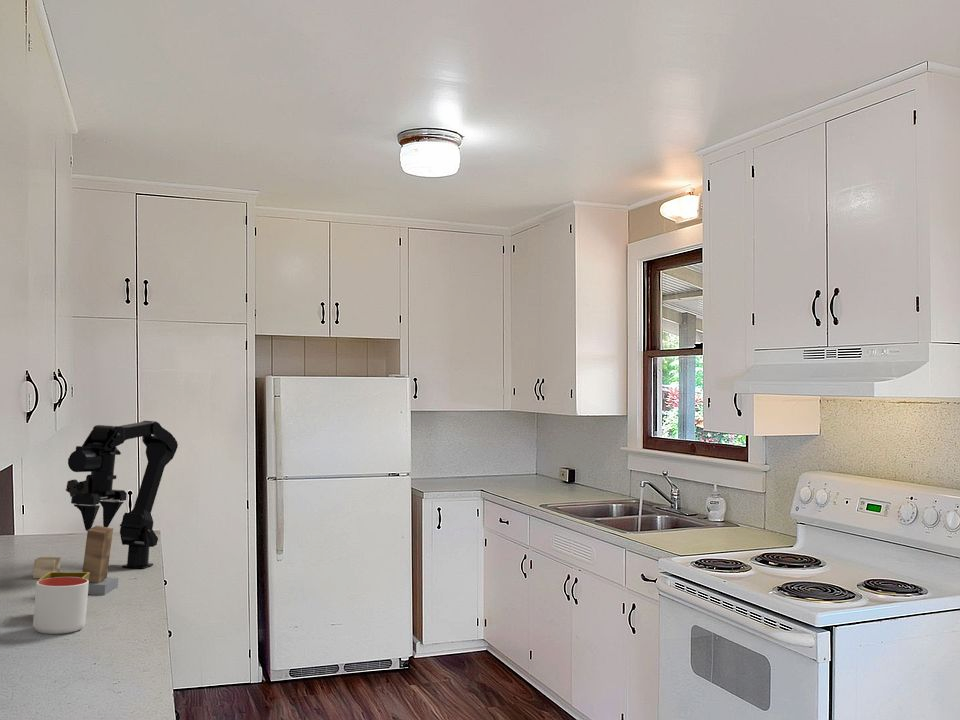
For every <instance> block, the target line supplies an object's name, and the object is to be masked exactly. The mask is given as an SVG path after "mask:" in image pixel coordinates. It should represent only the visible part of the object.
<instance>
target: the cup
mask: <svg viewBox="0 0 960 720" xmlns="http://www.w3.org/2000/svg"><path fill="white" fill-rule="evenodd" d="M88 585H89V581H88V580H87V579H84V578H78V577H55V578H47V579H43V580H40V581H38V580H37V581H36V584H35V595H34V597H35V598H34V607H33V619H32V621H33V622H32V626H33V629H34V630H35V631H36V632H38V633H41V634H48V635H64V634H70V633H74V632H76V631H79V630H81V629H83V628H84V626H85V625H86V620H87V608H88V599H89V598H88V597H89V595H88Z"/></svg>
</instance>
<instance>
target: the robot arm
mask: <svg viewBox="0 0 960 720" xmlns="http://www.w3.org/2000/svg"><path fill="white" fill-rule="evenodd" d="M136 438H142V439H141V440H142V443H143V444H144V445H145V455H146V459H147V463H146V467H145V471H144V475H143V477H142V480H141V483H140V487H139V490H138V493H137V496H136V500H135V503H134V507H133V508H132V510H130V512H124V513H123V516H122V520H121V523H120V524H119V534H120V541H121V545H123V546H128V547H127V548H128V549H127V560H126V562H127V563H125V564H122V566H121V567H122V568H129V569H139V568H143V569H145V567H146V568H149V567H152V566H154V563H151V562H149V560H150V548H153V547H155V546H157V545H158V541H159V537H158V536H157V534H156V533H155V531H154V529H153V527H154V519H153V516H152V509H153V506H154V504H155V501H156V497H157V494H158V490H159V488H160V483H161V480H162V477H163V474H164V471H165V468H166V466H167V465H168V464H169V463H170V462H171V461H172V460H173V458H174V457H175V455H176V452H177V450H178V448H179V447H178V446H179V444H178V441H177V439H176V437H174V435H173V434H172V433H171V432H170V431H168V430H167V429H165V428H164V427H162V425H161V424H160V422H157V421H154V420H142V421H139V422H134V423H128V424H123V425H105V424H104V425H101V424H97V425H94V426H93V428H92V430H90V433H89V434H88V435H87V437H86V439H85V440H84V442H83V444H82V445H77V446H75V450H74V451H73V452H71V454H70V455H69V457H68V459H67V464H68V468H69V469H70V470H71V471H72V472H75V473H86V472H87V473H89V472H90V474H87V475H86V476H85V477H86V478H85V480H82V481H78V480H77V479H70V480H68V481H67V482H66V487H65V491H66V492H68V493H69V495H70V498H71V500H70V503H71V504H73V506H74V507H75V508H77V509H78V510H79V512H80V514H81V516H82V521H83V526H84V529H85V532H86V531H87V532H88V530H89V529H91V528H93V525H94V523H95V519H96V517H97V514H98V513H99V509H100V507H102V523H103V526H102V527H108V528H109V526H110V524H111V522H113V519H114V517H116V514H117V512H118V511H119V509H120V508H121V507H122V505H123V504H124V503H125V501H127V497H128V496H127V492H126V491H125V490H124V489H113V483H114V480H117V475H115V474H114V471H115V464H116V455H117V456H120V455H122V454H121V451H120V450H119V449H118V446H120V445H123V444H124V443H125V441H127V440H130V439H136ZM99 504H100V505H99ZM151 565H152V566H151ZM148 566H149V567H148Z"/></svg>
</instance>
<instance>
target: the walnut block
mask: <svg viewBox="0 0 960 720" xmlns="http://www.w3.org/2000/svg"><path fill="white" fill-rule="evenodd" d="M86 533H87V534H86V540H85V550H84V556H83V563H82V571H81V572H89V573H90V574H89V580H88V581H89V582H93V583H100V582H101V581H103V580H104V579H106V578H107V577H108V571H109V563H110V557H111V556H110V555H111V549H112V541H113V533H114V528H112V527H109V526H108V527H103V526H102V525H101V526H100V525H95V526H92V527H91V529H89V530H88V531H87V532H86Z"/></svg>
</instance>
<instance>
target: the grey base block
mask: <svg viewBox="0 0 960 720" xmlns="http://www.w3.org/2000/svg"><path fill="white" fill-rule="evenodd" d="M118 587H119V577H108V576H107V578H106V579H104V580H103V581H101V582H100V583H93V582H89V585H88V594H92V596H93V595H94V596H105V594H106V595H108V594H109V593H111V592H112V590H113V591H115V590H116V589H118ZM114 589H115V590H114ZM110 591H111V592H110ZM107 593H108V594H107Z"/></svg>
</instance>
